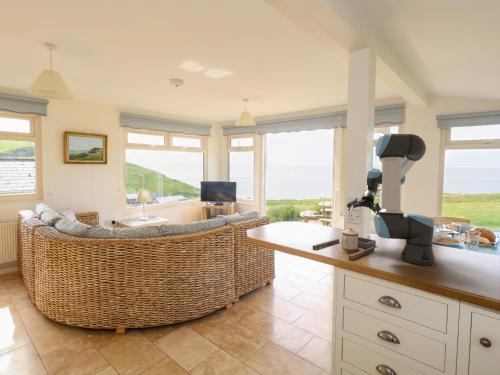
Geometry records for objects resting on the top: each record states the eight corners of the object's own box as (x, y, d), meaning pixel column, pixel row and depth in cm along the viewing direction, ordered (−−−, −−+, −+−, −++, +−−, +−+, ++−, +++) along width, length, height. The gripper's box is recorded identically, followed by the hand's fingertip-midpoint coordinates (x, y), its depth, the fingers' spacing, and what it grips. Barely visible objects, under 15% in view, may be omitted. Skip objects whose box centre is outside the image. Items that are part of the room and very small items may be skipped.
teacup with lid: (345, 244, 170) (346, 225, 169) (360, 248, 163) (361, 228, 162) (336, 248, 161) (337, 228, 160) (351, 252, 155) (352, 231, 154)
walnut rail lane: (374, 251, 158) (374, 247, 158) (351, 260, 141) (351, 256, 141) (336, 241, 176) (336, 238, 175) (312, 249, 159) (312, 245, 159)
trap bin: (375, 245, 170) (375, 240, 169) (366, 248, 162) (367, 243, 162) (353, 240, 180) (354, 235, 180) (344, 243, 173) (344, 238, 172)
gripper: (388, 207, 177) (383, 226, 161) (347, 199, 188) (339, 216, 172) (390, 197, 173) (386, 216, 157) (348, 189, 184) (340, 205, 168)
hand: (361, 216), depth 165 cm, fingers open, 13 cm apart
